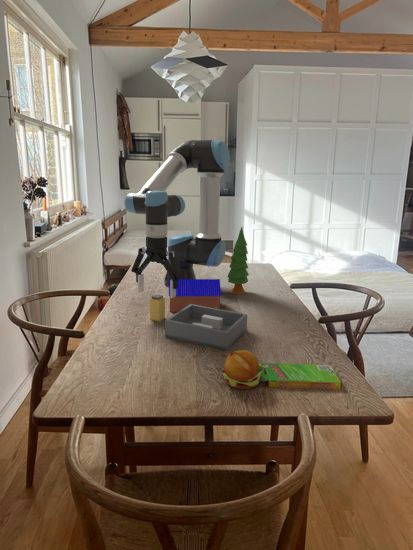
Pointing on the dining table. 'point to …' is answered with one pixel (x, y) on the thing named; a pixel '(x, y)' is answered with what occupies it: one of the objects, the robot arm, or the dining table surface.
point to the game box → (300, 376)
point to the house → (196, 294)
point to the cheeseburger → (242, 370)
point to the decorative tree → (239, 265)
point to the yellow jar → (157, 307)
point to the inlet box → (206, 326)
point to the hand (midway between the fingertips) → (156, 294)
